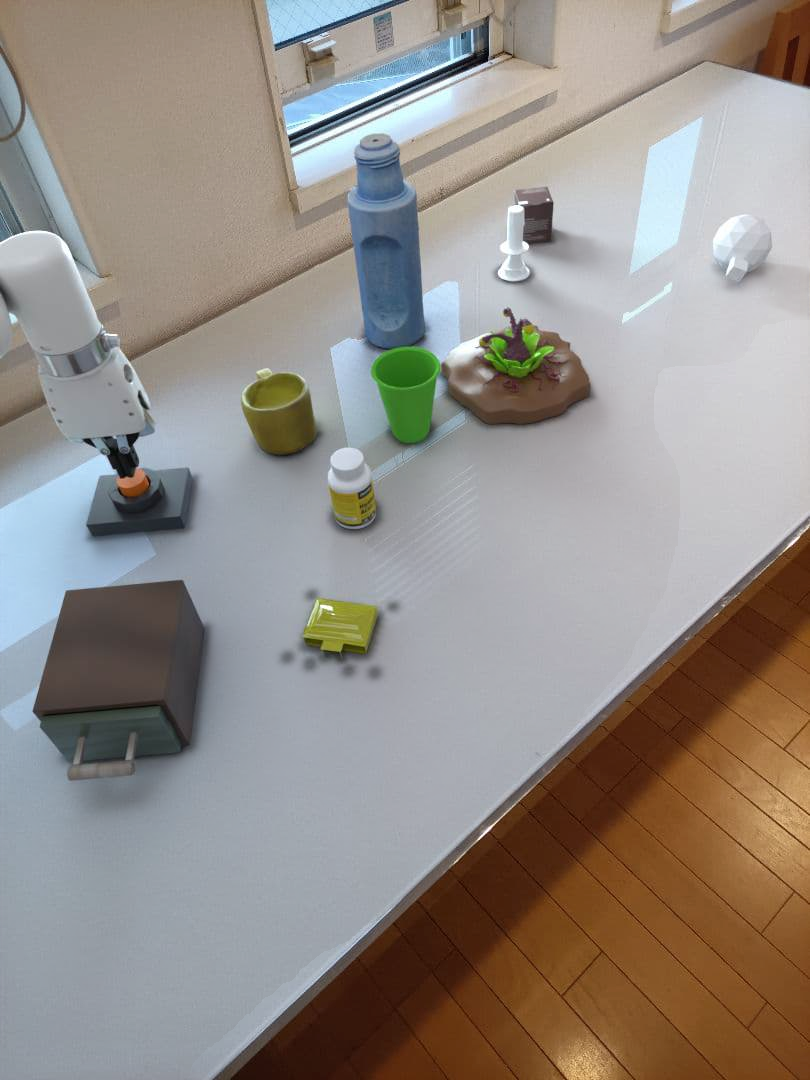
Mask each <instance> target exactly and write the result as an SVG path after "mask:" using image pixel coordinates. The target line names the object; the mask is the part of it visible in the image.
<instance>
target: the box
mask: <svg viewBox="0 0 810 1080" xmlns="http://www.w3.org/2000/svg"><path fill="white" fill-rule="evenodd" d="M513 195H514V196H513V206H514V205H520V206H521V207H523V208H524V220H525V224H524V227H523V241H524V242H526V243H527V244H535V243H545V242H552V236H553V235H552V234H553V219H554V199H553V197H552V195H551V192H550V190H549V187H548V186H543V187H532V188H522V189H515V190H514V193H513Z"/></svg>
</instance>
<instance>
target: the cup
mask: <svg viewBox="0 0 810 1080" xmlns="http://www.w3.org/2000/svg"><path fill="white" fill-rule="evenodd" d="M440 372H441V362H440V359H439V358H438V357H437V356H436V355H435V354H434V353H433V352H431V351H430V350H427V349H425V348H423V347H418V346H408V347H399V348H395V349H388V350H387V351H385V352H383V353H381V354H379V355H378V356H377V357H376V358H375V360H374V361H373V362H372V365H371V367H370V374H371V378H372V379H373V381H374V382H375V383H376V386H377V389H378V391H379V392H378V393H379V394H380V395H379V396H380V398H381V401H382V405H383V408H384V411H385V414H386V417H387V421H388V423H389V427H390V429H391V433H392V435H393V437H394V438H395V439H396V440H398V442H401V443H404V444H415V443H419V442H421V441H424V440H425V439H426V438H427V437H428V434H429V432H430V431H431V429H430V428H431V422H432V416H433V409H434V400H435V393H436V386H437V379H438V376H439V375H440Z"/></svg>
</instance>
